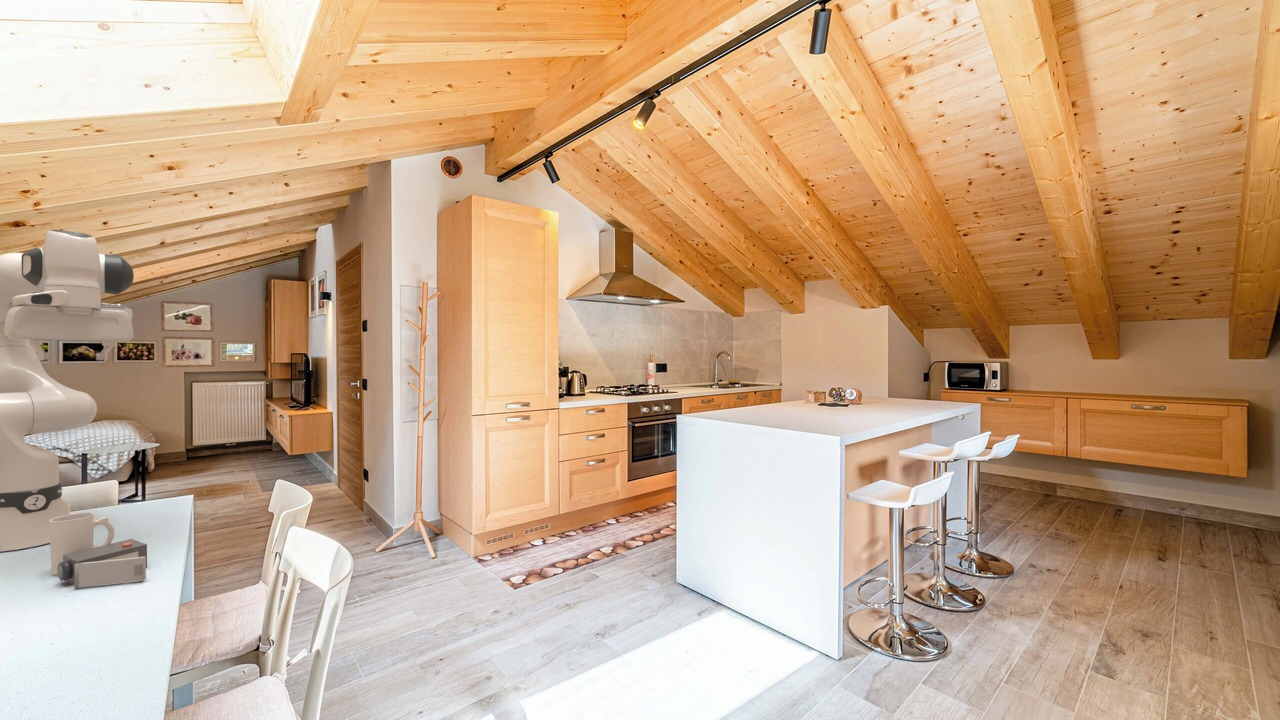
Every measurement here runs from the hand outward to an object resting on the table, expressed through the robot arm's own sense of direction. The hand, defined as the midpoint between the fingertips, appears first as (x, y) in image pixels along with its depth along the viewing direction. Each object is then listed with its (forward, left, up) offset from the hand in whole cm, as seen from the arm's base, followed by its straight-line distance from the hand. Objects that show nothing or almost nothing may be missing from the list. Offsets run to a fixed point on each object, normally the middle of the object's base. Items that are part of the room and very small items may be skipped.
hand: (74, 360), depth 119 cm
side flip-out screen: (+23, -1, -47) cm, 52 cm away
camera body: (+14, +1, -47) cm, 49 cm away
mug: (+5, 0, -47) cm, 48 cm away
